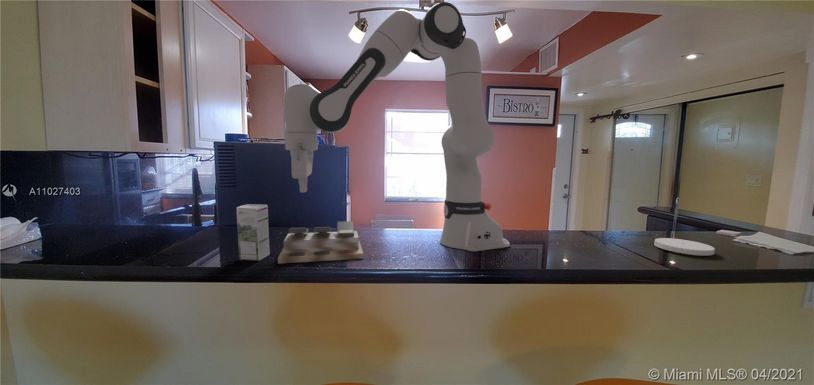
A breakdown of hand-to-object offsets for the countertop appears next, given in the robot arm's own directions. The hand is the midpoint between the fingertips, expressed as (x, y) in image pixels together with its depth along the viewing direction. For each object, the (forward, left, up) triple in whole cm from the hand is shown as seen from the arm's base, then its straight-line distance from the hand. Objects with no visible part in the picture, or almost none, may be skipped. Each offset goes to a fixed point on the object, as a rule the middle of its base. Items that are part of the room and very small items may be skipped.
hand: (303, 192), depth 89 cm
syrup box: (+13, +5, -18) cm, 22 cm away
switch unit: (-5, +5, -17) cm, 19 cm away
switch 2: (-12, +3, -11) cm, 16 cm away
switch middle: (-5, +3, -11) cm, 12 cm away
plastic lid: (-115, +22, -18) cm, 119 cm away
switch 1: (+1, +3, -11) cm, 11 cm away
